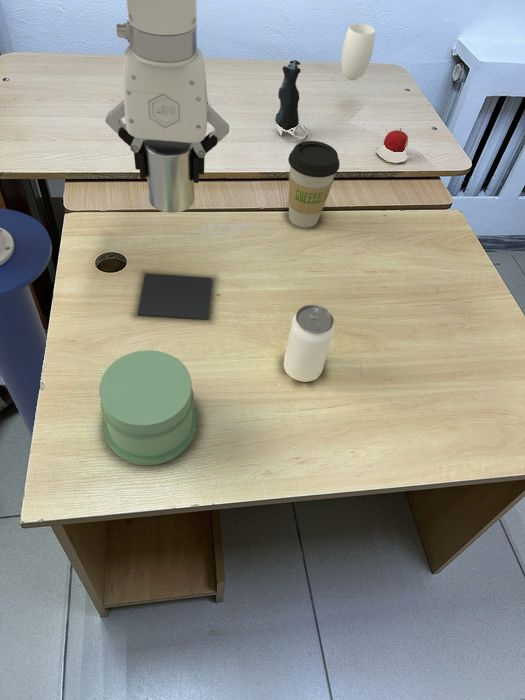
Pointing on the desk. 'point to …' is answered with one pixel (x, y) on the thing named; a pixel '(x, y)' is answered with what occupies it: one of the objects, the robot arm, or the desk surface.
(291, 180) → the coffee cup
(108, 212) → the desk surface
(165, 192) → the silver cup
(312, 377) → the can
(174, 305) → the mat
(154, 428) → the green short cylinder
